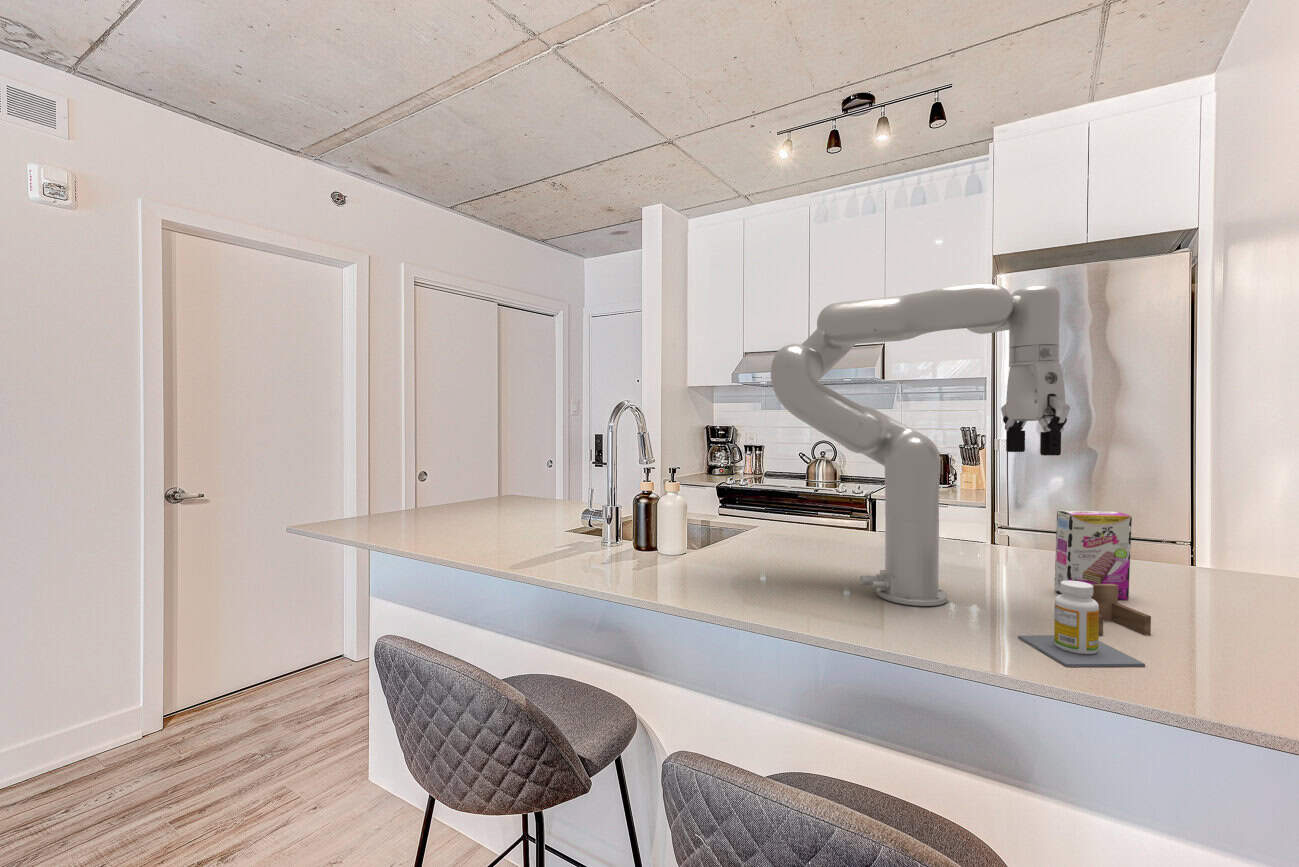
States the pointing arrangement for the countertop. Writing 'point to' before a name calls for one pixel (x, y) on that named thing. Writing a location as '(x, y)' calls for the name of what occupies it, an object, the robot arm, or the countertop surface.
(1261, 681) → the countertop surface
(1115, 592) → the shelf slot
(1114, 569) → the candy bar box
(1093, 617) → the supplement bottle
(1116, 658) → the slate mat
